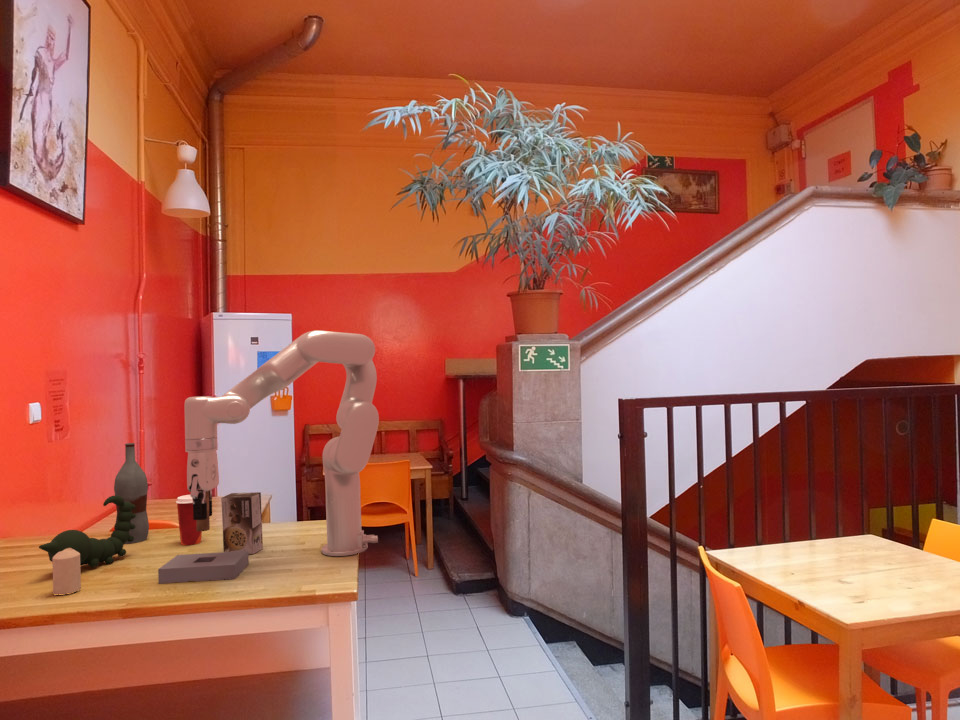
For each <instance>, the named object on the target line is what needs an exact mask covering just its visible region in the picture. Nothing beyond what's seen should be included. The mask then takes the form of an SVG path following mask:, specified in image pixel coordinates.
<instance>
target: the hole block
mask: <svg viewBox="0 0 960 720" xmlns="http://www.w3.org/2000/svg"><path fill="white" fill-rule="evenodd" d="M249 562H250V561H249V554H248V551H237V552H224V551H223V552H207V553H205V552H203V553H189V554H188V553H185V554H176V556H173V558H171V559H170V560H169V561H167V562H166V563H164V564H163V565H161V567H159V568H158V569H157V571H158V574H157V575H158V577H157V578H158V584H175V583H174V582H178V583H189V582H188V581H195V582H207V581H209V580H211V581H223V580H224V579H225V580H227V581H228V580H236V579H237V577H238V576H239V575H240V574H241V573H242V572H243V571H244V570H245V569H246V568H247V567H248V566H249Z"/></svg>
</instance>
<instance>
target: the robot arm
mask: <svg viewBox="0 0 960 720" xmlns="http://www.w3.org/2000/svg"><path fill="white" fill-rule="evenodd" d="M375 353H376V346H375V343H374V341H373V340H372V339H371V337H369V336H368V335H365V334H362V333H353V332H352V333H351V332H342V331H341V332H339V331H328V330H321V329H320V330H319V329H318V330H317V329H316V330H311V331H306V332H304V333H302V334H300V336H299V337H297V338H296V339H294V340H293V341H292V342H290V343H289V344H288V345H287V346H285V347H284V348H282V349H281V350H280V351H279V352H277V353H276V354H275V355H274V356H272V357H271V358H269V359H268V360H267V361H265V362H264V363H263V364H262V365H260V366H259V367H257V369H256V370H255V371H253V372H252V373H250V374H249V375H248V376H247V377H245V378H243V379H242V380H241V381H239V383H237V384H235V385H234V386H233V387H232V388H231V389H229V390H228V391H226V392H225V393H224V394H223V395H222V396H215V397H214V396H210V395H209V396H208V395H207V396H206V395H202V396H198V395H197V396H189V397H187V398H186V399H185V400H184V448H185V450H184V451H185V453H187V461H186V462H187V463H186V485H187V488H186V489H187V491H188V492H189V493H190V494H189V495H190V496H191V497H192V498H193V519H194V520H205V519H207V503H205V496H206V491H209V517H212V515H213V500H212V499H213V490H214V489H215V488H217V487H218V486H219V484H220V475H219V462H218V453H217V450H218V448H219V447H218V445H219V443H218V424H227V425H228V424H230V425H236V424H240V423H242V422H244V421H245V420H246V419H247V418H248V417H249V415H250V411H251V409H252V408H253V407H255V406H256V405H258V403H260V402H262V401H263V400H265V399H266V398H267V397H269V396H271V395H273V394H276V393H278V392H280V391H282V390H284V389H285V388H287V387H289V386H290V385H291V384H292V383H294V382H295V381H296V380H297V379H299V378H300V377H301V376H303V374H305V373H306V372H307V371H308V370H310V369H311V368H313V366H315V365H316V364H318V363H327V364H339V365H342V366H343V367H344V369H345V373H346V374H345V375H346V378H345V379H346V380H345V385H344V388H343V393H342V396H341V399H340V402H339V406H338V409H337V412H336V417H335V420H336V424H337V425H338V428H340V433H339V436H335V437H333V438H331V439H329V440H328V441H327V443H326V444H325V445H324V448H323V450H322V467H323V472H324V483H325V484H324V485H325V514H326V515H325V517H326V544H324V545H323V546H322V547H321V554H323V555H325V556H328V557H329V556H330V557H345V556H347V557H348V556H353V555H357V553H358V554H361V553H364V552H365V551H366V550H367V549H369V546H368V544H369V543H371V544H376V543H379V536H378V535H375V534H366V533H365V530H364V529H362V505H361V503H362V501H361V479H360V478H361V477H360V472H362V471H363V470H364V469H365V467H366V466H367V464H368V462H369V459H370V457H371V454H372V450H373V447H374V443H375V439H376V436H377V432H378V429H379V428H378V427H379V424H380V422H379V421H380V416H379V411H378V409H377V407H376V406H375V405H374V404H373V400H374V396H375V392H376V387H377V382H378V378H377V376H378V375H377V370H376V369H377V368H376V365H375V364H374V361H373V360H374V359H373V358H374V357H375ZM201 489H202V491H198V490H201ZM201 494H202V497H201Z"/></svg>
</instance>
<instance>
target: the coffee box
mask: <svg viewBox="0 0 960 720" xmlns="http://www.w3.org/2000/svg"><path fill="white" fill-rule="evenodd" d="M220 501H221V520H222V522H221V523H222V524H221V525H222V542H223V543H222V544H223V549H222V550H223V552H237V551H248V555H254V554H256V553H258V552H259V551H261V550H262V548H263V549H264V544H263V543H264V541H263V521H262V519H263V517H262V516H263V514H262V494H261V492H258V491H257V492H231V493H229V494H227V495H225V496H223V497H221V498H220Z"/></svg>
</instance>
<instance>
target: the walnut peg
mask: <svg viewBox="0 0 960 720" xmlns="http://www.w3.org/2000/svg"><path fill="white" fill-rule="evenodd" d="M198 491H202V489H201V490H199V489H198ZM201 497H202V494H201ZM205 503H207V519H205V520H197V531H202V532H206V531H209V530H210V529H211V528H210V527H211V525H210V524H211V523H210V522H211V521H210V516H209V491H206V496H205Z"/></svg>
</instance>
